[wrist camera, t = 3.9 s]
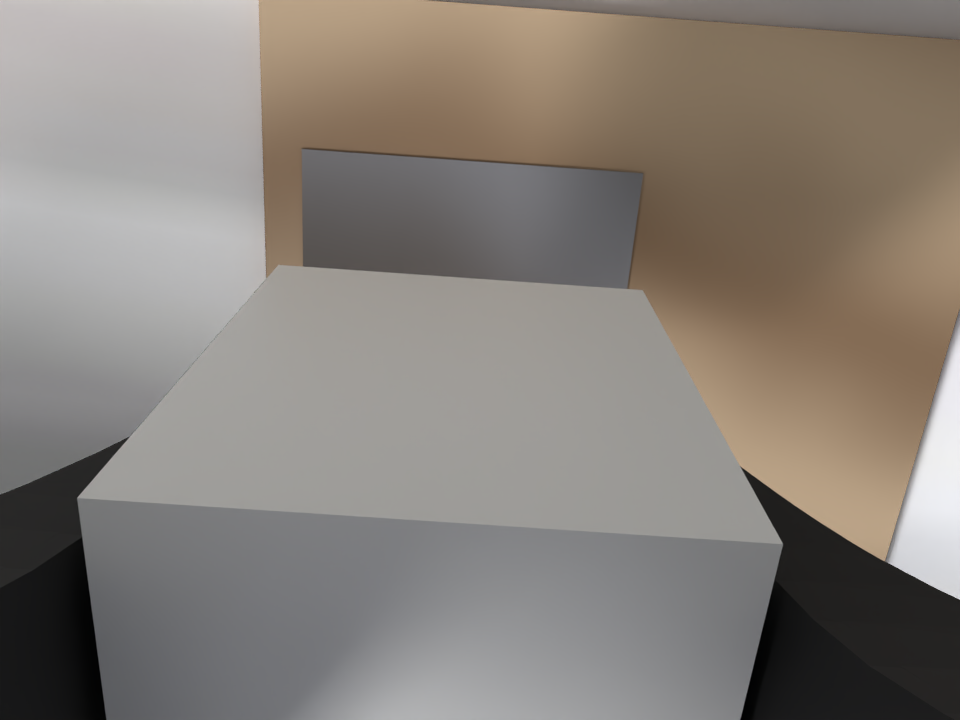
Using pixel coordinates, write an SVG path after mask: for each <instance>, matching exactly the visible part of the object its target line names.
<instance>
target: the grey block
mask: <svg viewBox="0 0 960 720" xmlns="http://www.w3.org/2000/svg"><path fill="white" fill-rule="evenodd" d="M77 501H78V508H79V516H80V524H81V531H82V539H83V546H84V554H85V561H86V569H87V577H88V584H89V592H90V599H91V607H92V614H93V622H94V630H95V637H96V645H97V652H98V660H99V667H100V675H101V683H102V690H103V698H104V705H105V713H106V720H740V719H741V715H742V711H743V707H744V702H745V698H746V694H747V690H748V686H749V682H750V678H751V674H752V670H753V666H754V661H755V657H756V653H757V649H758V645H759V641H760V637H761V633H762V629H763V625H764V620H765V616H766V612H767V608H768V604H769V600H770V596H771V592H772V588H773V584H774V579H775V575H776V571H777V567H778V563H779V559H780V555H781V551H782V547H783V543H782V541H781V540H780V538H779V536H778V534H777V532H776V530H775V529H774V527H773V525H772V523H771V521H770V520H769V518H768V516H767V514H766V512H765V511H764V509H763V507H762V505H761V503H760V502H759V500H758V498H757V496H756V494H755V492H754V491H753V489H752V487H751V485H750V483H749V482H748V480H747V478H746V476H745V474H744V473H743V471H742V469H741V467H740V465H739V464H738V462H737V460H736V458H735V456H734V454H733V453H732V451H731V449H730V447H729V445H728V444H727V442H726V440H725V438H724V436H723V435H722V433H721V431H720V429H719V427H718V426H717V424H716V422H715V420H714V418H713V416H712V415H711V413H710V411H709V409H708V407H707V406H706V404H705V402H704V400H703V398H702V397H701V395H700V393H699V391H698V389H697V388H696V386H695V384H694V382H693V380H692V379H691V377H690V375H689V373H688V371H687V369H686V368H685V366H684V364H683V362H682V360H681V359H680V357H679V355H678V353H677V351H676V350H675V348H674V346H673V344H672V342H671V341H670V339H669V337H668V335H667V333H666V331H665V330H664V328H663V326H662V324H661V322H660V321H659V319H658V317H657V315H656V313H655V312H654V310H653V308H652V306H651V304H650V303H649V301H648V299H647V297H646V295H645V293H644V292H643V290H633V289H619V288H604V287H590V286H576V285H561V284H547V283H533V282H518V281H504V280H489V279H475V278H461V277H446V276H432V275H417V274H403V273H389V272H374V271H360V270H345V269H331V268H317V267H302V266H288V265H278V266H277V267H276V268H275V269H274V270H273V272H272V273H271V274H270V275H269V276H268V277H267V279H266V280H265V281H264V282H263V283H262V284H261V286H260V287H259V288H258V289H257V290H256V291H255V292H254V294H253V295H252V296H251V297H250V298H249V299H248V301H247V302H246V303H245V304H244V305H243V306H242V308H241V309H240V310H239V311H238V312H237V313H236V315H235V316H234V317H233V318H232V319H231V320H230V321H229V323H228V324H227V325H226V326H225V327H224V328H223V330H222V331H221V332H220V333H219V334H218V335H217V337H216V338H215V339H214V340H213V341H212V342H211V343H210V345H209V346H208V347H207V348H206V349H205V350H204V352H203V353H202V354H201V355H200V356H199V357H198V359H197V360H196V361H195V362H194V363H193V364H192V365H191V367H190V368H189V369H188V370H187V371H186V372H185V374H184V375H183V376H182V377H181V378H180V379H179V381H178V382H177V383H176V384H175V385H174V386H173V387H172V389H171V390H170V391H169V392H168V393H167V394H166V396H165V397H164V398H163V399H162V400H161V401H160V403H159V404H158V405H157V406H156V407H155V408H154V409H153V411H152V412H151V413H150V414H149V415H148V416H147V418H146V419H145V420H144V421H143V422H142V423H141V425H140V426H139V427H138V428H137V429H136V430H135V431H134V433H133V434H132V435H131V436H130V437H129V438H128V440H127V441H126V442H125V443H124V444H123V445H122V447H121V448H120V449H119V450H118V451H117V452H116V453H115V455H114V456H113V457H112V458H111V459H110V460H109V462H108V463H107V464H106V465H105V466H104V467H103V469H102V470H101V471H100V472H99V473H98V474H97V476H96V477H95V478H94V479H93V480H92V481H91V482H90V484H89V485H88V486H87V487H86V488H85V489H84V491H83V492H82V493H81V494H80V495H79V496H78V498H77Z"/></svg>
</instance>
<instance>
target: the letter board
mask: <svg viewBox="0 0 960 720" xmlns="http://www.w3.org/2000/svg"><path fill="white" fill-rule="evenodd" d="M259 26H260V63H261V100H262V137H263V174H264V211H265V248H266V279H267V277H268V276H269V275H270V274H271V273H272V272H273V270H274V269H275V268H276V267H277V266H278V265H288V266H302V267H317V268H331V269H345V270H360V271H374V272H389V273H403V274H417V275H432V276H446V277H461V278H475V279H489V280H504V281H518V282H533V283H547V284H561V285H576V286H590V287H604V288H619V289H633V290H643V292H644V293H645V295H646V297H647V299H648V301H649V303H650V304H651V306H652V308H653V310H654V312H655V313H656V315H657V317H658V319H659V321H660V322H661V324H662V326H663V328H664V330H665V331H666V333H667V335H668V337H669V339H670V341H671V342H672V344H673V346H674V348H675V350H676V351H677V353H678V355H679V357H680V359H681V360H682V362H683V364H684V366H685V368H686V369H687V371H688V373H689V375H690V377H691V379H692V380H693V382H694V384H695V386H696V388H697V389H698V391H699V393H700V395H701V397H702V398H703V400H704V402H705V404H706V406H707V407H708V409H709V411H710V413H711V415H712V416H713V418H714V420H715V422H716V424H717V426H718V427H719V429H720V431H721V433H722V435H723V436H724V438H725V440H726V442H727V444H728V445H729V447H730V449H731V451H732V453H733V454H734V456H735V458H736V460H737V462H738V464H739V465H740V466H741V467H742V468H743V469H745V470H746V471H747V472H749V473H750V474H751V475H753V476H754V477H756V478H757V479H758V480H760V481H761V482H762V483H764V484H765V485H767V486H768V487H769V488H771V489H772V490H773V491H775V492H776V493H778V494H779V495H780V496H782V497H783V498H785V499H786V500H788V501H789V502H790V503H792V504H793V505H795V506H796V507H798V508H799V509H801V510H802V511H804V512H805V513H807V514H808V515H810V516H811V517H813V518H814V519H816V520H817V521H819V522H820V523H822V524H823V525H825V526H827V527H828V528H830V529H831V530H833V531H834V532H836V533H838V534H839V535H841V536H842V537H844V538H846V539H847V540H849V541H850V542H852V543H853V544H855V545H857V546H858V547H860V548H862V549H864V550H865V551H867V552H869V553H870V554H872V555H874V556H876V557H877V558H879V559H881V560H883V561H885V559H886V556H887V553H888V549H889V546H890V542H891V539H892V536H893V532H894V529H895V525H896V522H897V519H898V515H899V512H900V509H901V505H902V502H903V498H904V495H905V492H906V488H907V485H908V482H909V478H910V475H911V471H912V468H913V465H914V461H915V458H916V454H917V451H918V448H919V444H920V441H921V438H922V434H923V431H924V427H925V424H926V421H927V417H928V414H929V411H930V407H931V404H932V400H933V397H934V394H935V390H936V387H937V383H938V380H939V377H940V373H941V370H942V367H943V363H944V360H945V356H946V353H947V350H948V346H949V343H950V340H951V336H952V333H953V329H954V326H955V323H956V319H957V316H958V312H959V309H960V40H954V39H940V38H927V37H913V36H900V35H886V34H873V33H860V32H846V31H833V30H819V29H806V28H792V27H779V26H765V25H752V24H738V23H725V22H711V21H698V20H684V19H671V18H658V17H644V16H631V15H617V14H604V13H590V12H577V11H563V10H550V9H536V8H523V7H509V6H496V5H483V4H469V3H456V2H442V1H429V0H259Z"/></svg>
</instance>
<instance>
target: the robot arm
mask: <svg viewBox="0 0 960 720" xmlns="http://www.w3.org/2000/svg"><path fill="white" fill-rule="evenodd" d="M128 438H129V437H128ZM128 438H126V439H124V440H122V441H120V442H118V443H116V444H114V445H112V446H110V447H108V448H106V449H104V450H102V451H100V452H98V453H96V454H93V455H91V456H89V457H87V458H84V459H82V460H80V461H78V462H76V463H73V464H71V465H69V466H67V467H64V468H62V469H60V470H58V471H55V472H53V473H51V474H49V475H46V476H44V477H42V478H40V479H38V480H35V481H33V482H31V483H29V484H26V485H24V486H21V487H19V488H16V489H14V490H11V491H9V492H6V493H4V494H1V495H0V720H106V713H105V705H104V698H103V690H102V683H101V675H100V667H99V660H98V652H97V645H96V637H95V630H94V622H93V614H92V607H91V599H90V592H89V584H88V577H87V569H86V561H85V554H84V546H83V539H82V531H81V524H80V516H79V508H78V501H77V498H78V496H79V495H80V494H81V493H82V492H83V491H84V489H85V488H86V487H87V486H88V485H89V484H90V482H91V481H92V480H93V479H94V478H95V477H96V476H97V474H98V473H99V472H100V471H101V470H102V469H103V467H104V466H105V465H106V464H107V463H108V462H109V460H110V459H111V458H112V457H113V456H114V455H115V453H116V452H117V451H118V450H119V449H120V448H121V447H122V445H123V444H124V443H125V442H126V441H127V440H128ZM740 467H741V466H740ZM741 469H742V471H743V473H744V474H745V476H746V478H747V480H748V482H749V483H750V485H751V487H752V489H753V491H754V492H755V494H756V496H757V498H758V500H759V502H760V503H761V505H762V507H763V509H764V511H765V512H766V514H767V516H768V518H769V520H770V521H771V523H772V525H773V527H774V529H775V530H776V532H777V534H778V536H779V538H780V540H781V541H782V543H783V547H782V551H781V555H780V559H779V563H778V567H777V571H776V575H775V579H774V584H773V588H772V592H771V596H770V600H769V604H768V608H767V612H766V616H765V620H764V625H763V629H762V633H761V637H760V641H759V645H758V649H757V653H756V657H755V661H754V666H753V670H752V674H751V678H750V682H749V686H748V690H747V694H746V698H745V702H744V707H743V711H742V715H741V719H740V720H960V600H959V599H957V598H955V597H953V596H951V595H948V594H946V593H944V592H942V591H940V590H938V589H936V588H934V587H932V586H930V585H928V584H926V583H924V582H922V581H921V580H919V579H917V578H915V577H913V576H911V575H909V574H907V573H905V572H904V571H902V570H900V569H898V568H896V567H894V566H892V565H890V564H888V563H887V562H885V561H883V560H881V559H879V558H877V557H876V556H874V555H872V554H870V553H869V552H867V551H865V550H864V549H862V548H860V547H858V546H857V545H855V544H853V543H852V542H850V541H849V540H847V539H846V538H844V537H842V536H841V535H839V534H838V533H836V532H834V531H833V530H831V529H830V528H828V527H827V526H825V525H823V524H822V523H820V522H819V521H817V520H816V519H814V518H813V517H811V516H810V515H808V514H807V513H805V512H804V511H802V510H801V509H799V508H798V507H796V506H795V505H793V504H792V503H790V502H789V501H788V500H786V499H785V498H783V497H782V496H780V495H779V494H778V493H776V492H775V491H773V490H772V489H771V488H769V487H768V486H767V485H765V484H764V483H762V482H761V481H760V480H758V479H757V478H756V477H754V476H753V475H751V474H750V473H749V472H747V471H746V470H745V469H743V468H742V467H741Z"/></svg>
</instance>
